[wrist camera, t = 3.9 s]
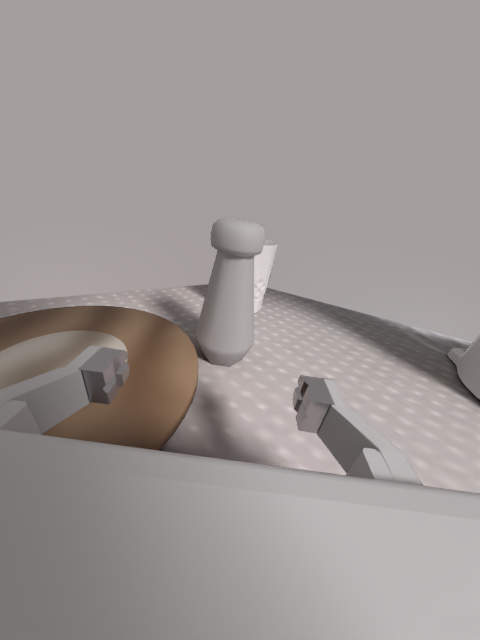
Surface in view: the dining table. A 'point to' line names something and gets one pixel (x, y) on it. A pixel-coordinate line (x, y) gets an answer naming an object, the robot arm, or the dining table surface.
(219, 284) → the salt shaker
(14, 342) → the turntable
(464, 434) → the dining table surface
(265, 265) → the white cup
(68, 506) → the robot arm
